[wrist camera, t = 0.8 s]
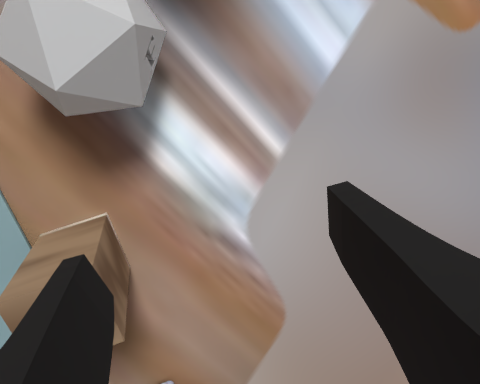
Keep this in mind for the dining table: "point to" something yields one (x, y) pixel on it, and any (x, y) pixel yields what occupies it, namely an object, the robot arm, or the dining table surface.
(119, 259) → the walnut block
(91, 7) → the die
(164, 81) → the dining table surface
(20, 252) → the mat
